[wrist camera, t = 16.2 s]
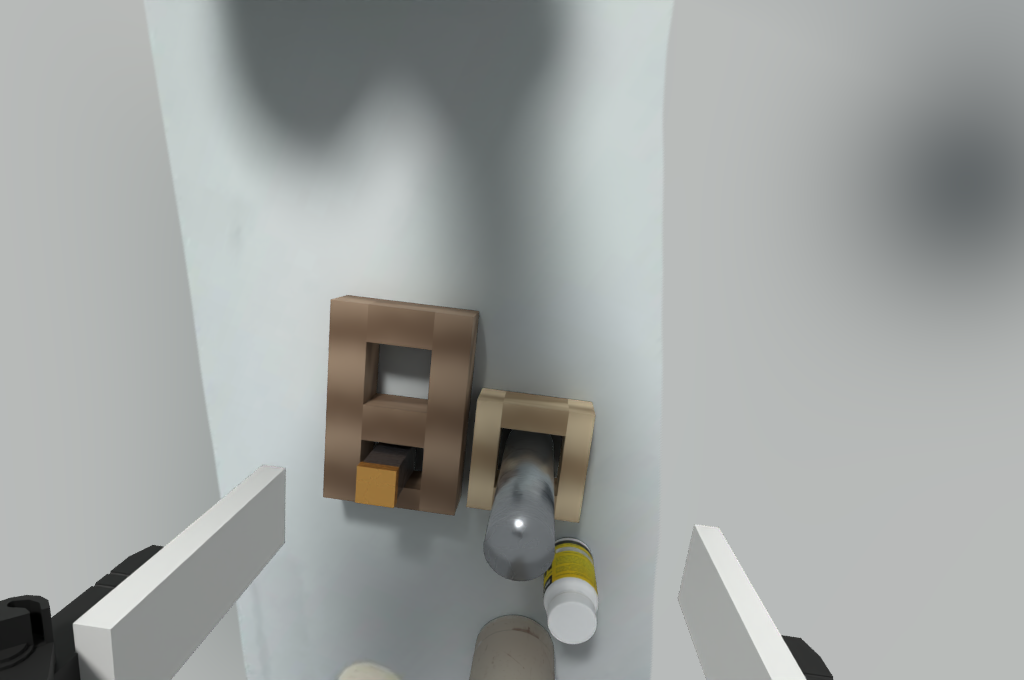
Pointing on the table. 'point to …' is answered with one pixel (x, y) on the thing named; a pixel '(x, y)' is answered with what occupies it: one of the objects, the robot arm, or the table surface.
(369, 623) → the table surface
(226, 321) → the table surface
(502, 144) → the table surface
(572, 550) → the supplement bottle
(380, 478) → the key
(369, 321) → the socket block
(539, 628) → the thermos bottle
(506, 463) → the grey metal cylinder
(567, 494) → the frame
